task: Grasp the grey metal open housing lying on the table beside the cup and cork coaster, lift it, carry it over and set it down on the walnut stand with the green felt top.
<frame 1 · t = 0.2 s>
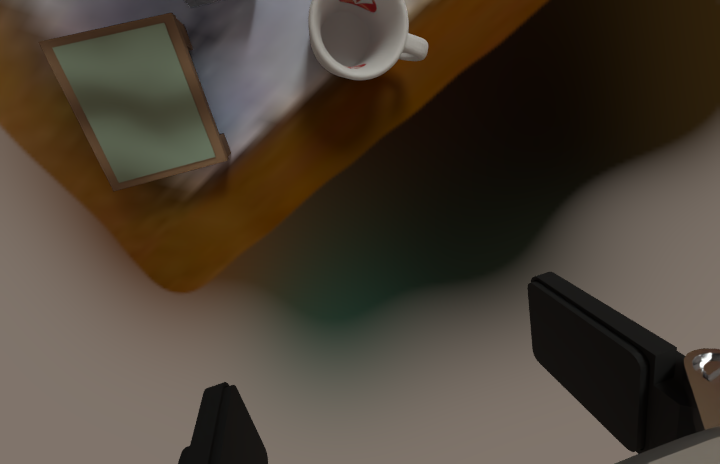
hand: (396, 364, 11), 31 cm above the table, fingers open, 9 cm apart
cup: (356, 45, 37), on the table
stand: (155, 106, 34), on the table
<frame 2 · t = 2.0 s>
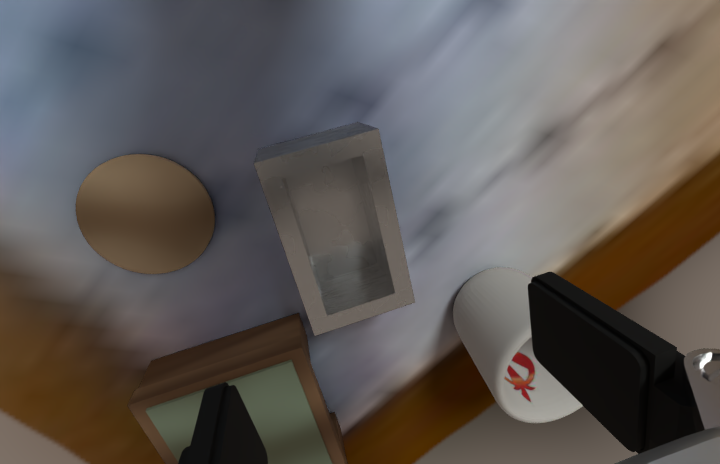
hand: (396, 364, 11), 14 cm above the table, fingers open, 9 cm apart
housing: (330, 212, 24), on the table
cup: (501, 300, 29), on the table
stand: (255, 398, 27), on the table
coaster: (150, 215, 21), on the table
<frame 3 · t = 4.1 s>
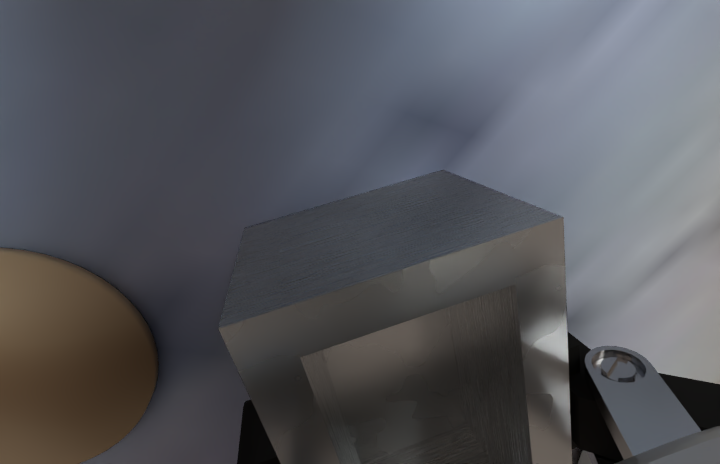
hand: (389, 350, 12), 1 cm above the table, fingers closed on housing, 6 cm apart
housing: (383, 336, 12), on the table, touching gripper
coaster: (19, 365, 10), on the table
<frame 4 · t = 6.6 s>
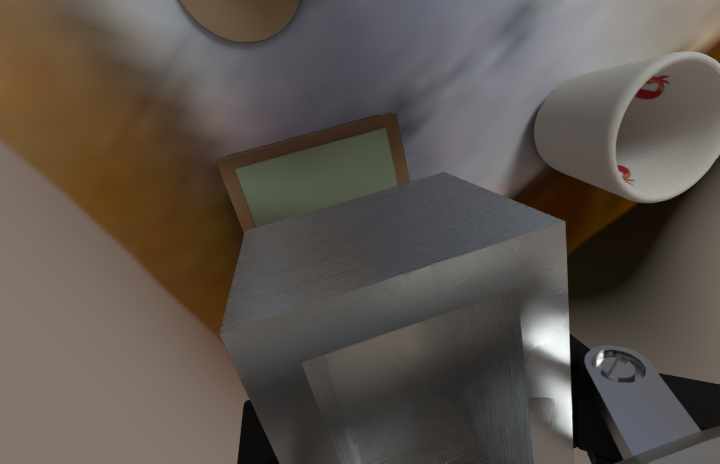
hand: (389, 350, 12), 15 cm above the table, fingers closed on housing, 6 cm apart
housing: (384, 338, 12), point 14 cm above the table, touching gripper
cup: (579, 128, 28), on the table
stand: (328, 218, 26), on the table
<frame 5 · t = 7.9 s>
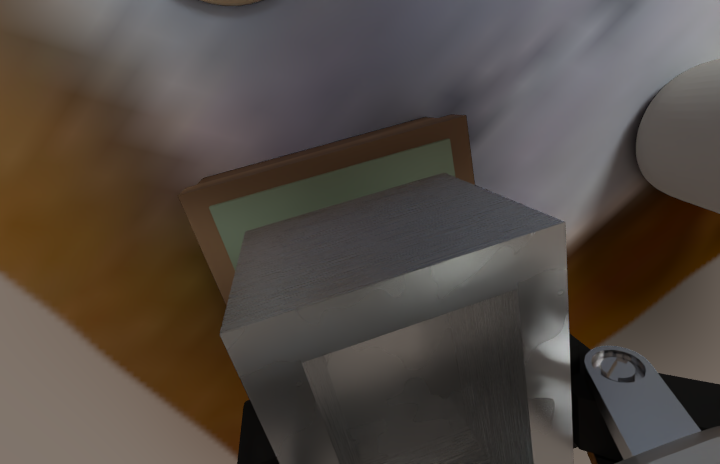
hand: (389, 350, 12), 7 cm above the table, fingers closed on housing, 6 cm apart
housing: (384, 339, 12), point 6 cm above the table, touching gripper
cup: (692, 135, 20), on the table
stand: (350, 262, 18), on the table
when the fingers open (6 cm above the table, at t = 9.0 s): housing drops 1 cm, resting on stand.
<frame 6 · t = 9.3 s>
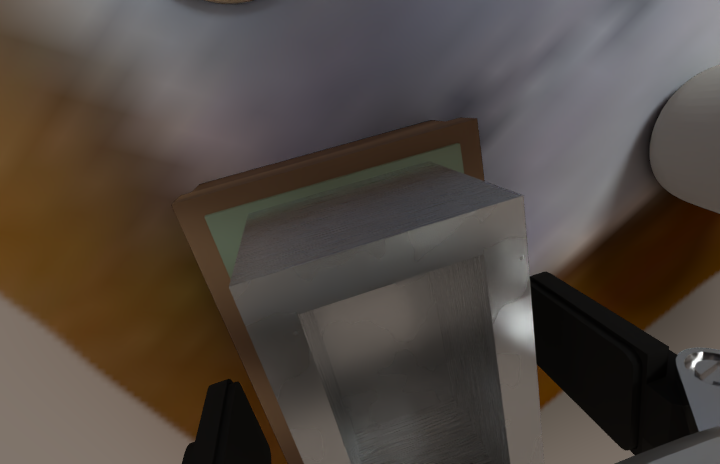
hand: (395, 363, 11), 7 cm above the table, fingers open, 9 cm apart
housing: (375, 315, 14), point 4 cm above the table, touching stand
cup: (706, 138, 20), on the table
stand: (353, 271, 17), on the table
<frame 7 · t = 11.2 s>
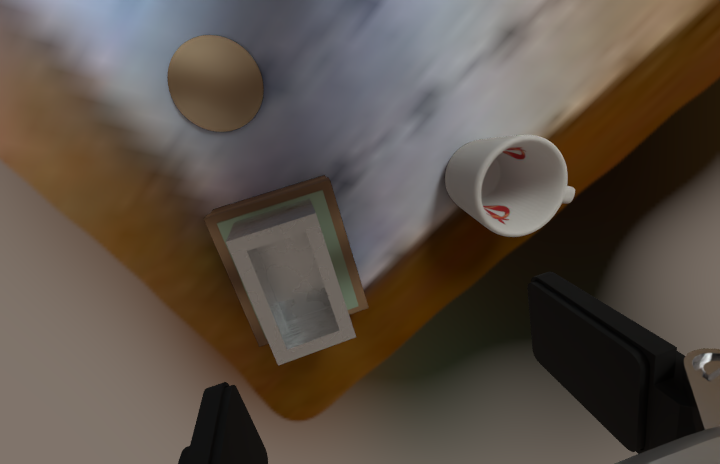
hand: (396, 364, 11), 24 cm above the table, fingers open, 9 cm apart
housing: (293, 266, 30), point 4 cm above the table, touching stand
cup: (484, 176, 36), on the table
stand: (291, 251, 34), on the table
coaster: (217, 85, 29), on the table
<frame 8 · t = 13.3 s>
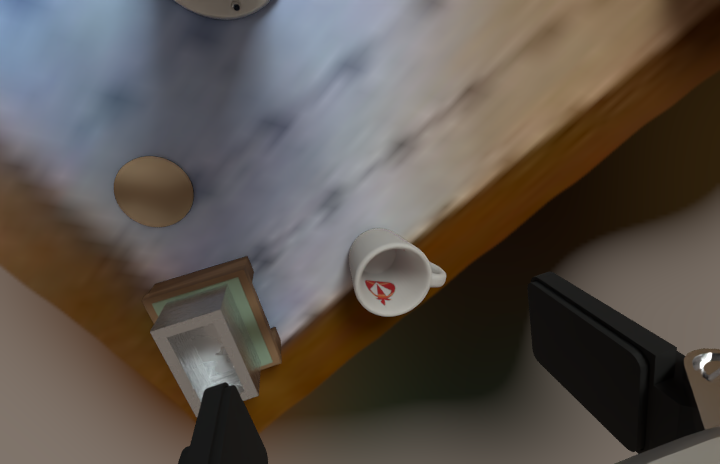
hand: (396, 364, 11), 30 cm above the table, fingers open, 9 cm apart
housing: (216, 334, 38), point 4 cm above the table, touching stand
cup: (385, 252, 44), on the table
stand: (221, 313, 42), on the table
coaster: (155, 192, 36), on the table
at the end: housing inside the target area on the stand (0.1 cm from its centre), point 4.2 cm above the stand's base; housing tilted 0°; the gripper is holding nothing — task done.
